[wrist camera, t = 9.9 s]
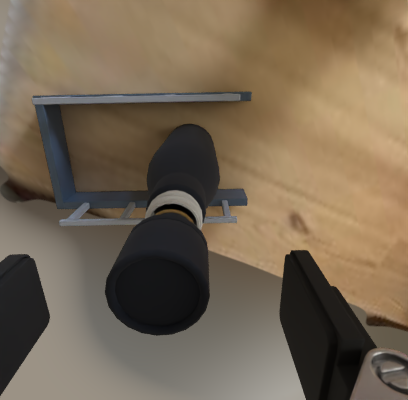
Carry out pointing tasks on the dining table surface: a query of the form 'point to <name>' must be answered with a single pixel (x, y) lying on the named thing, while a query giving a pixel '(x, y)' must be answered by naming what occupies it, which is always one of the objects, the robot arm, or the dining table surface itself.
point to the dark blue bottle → (169, 240)
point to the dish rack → (83, 201)
